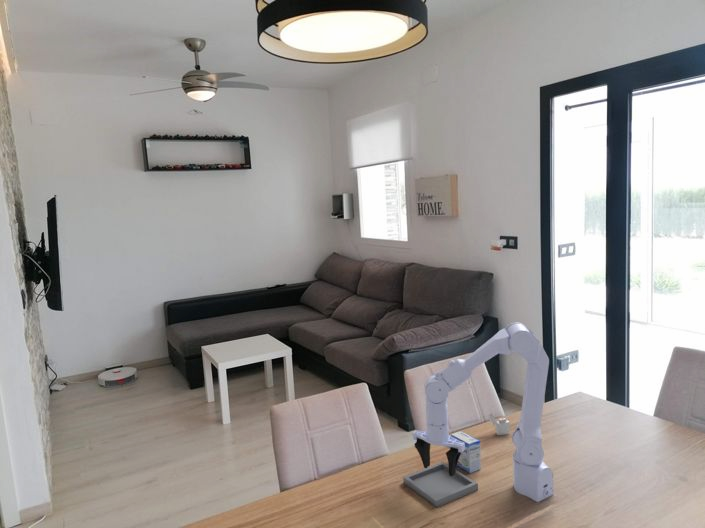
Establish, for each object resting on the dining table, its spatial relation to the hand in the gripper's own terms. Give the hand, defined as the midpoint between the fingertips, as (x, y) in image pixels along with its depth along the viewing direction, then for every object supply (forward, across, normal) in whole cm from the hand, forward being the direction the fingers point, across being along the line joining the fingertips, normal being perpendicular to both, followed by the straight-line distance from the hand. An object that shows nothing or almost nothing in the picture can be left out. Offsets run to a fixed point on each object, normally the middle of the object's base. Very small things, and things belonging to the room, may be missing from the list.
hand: (439, 470), depth 134 cm
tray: (+4, 0, 0) cm, 4 cm away
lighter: (+5, -1, -37) cm, 37 cm away
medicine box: (+5, -1, -14) cm, 14 cm away
